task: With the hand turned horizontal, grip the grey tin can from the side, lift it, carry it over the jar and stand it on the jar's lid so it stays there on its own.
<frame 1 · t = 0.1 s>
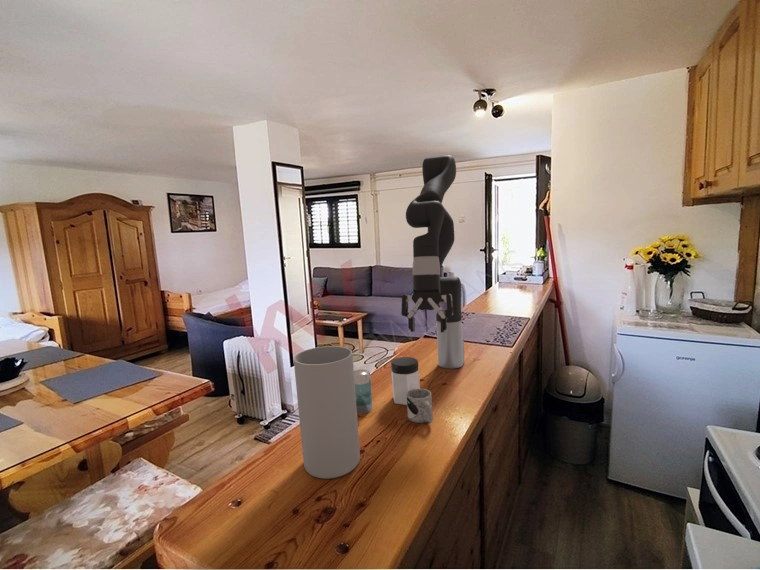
hand: (427, 331, 103), 22 cm above the kitchen counter, tool pointing down, fingers open, 8 cm apart
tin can: (363, 409, 108), on the kitchen counter
jar: (406, 399, 113), on the kitchen counter
cylinder vase: (332, 463, 83), on the kitchen counter
mug: (422, 420, 100), on the kitchen counter
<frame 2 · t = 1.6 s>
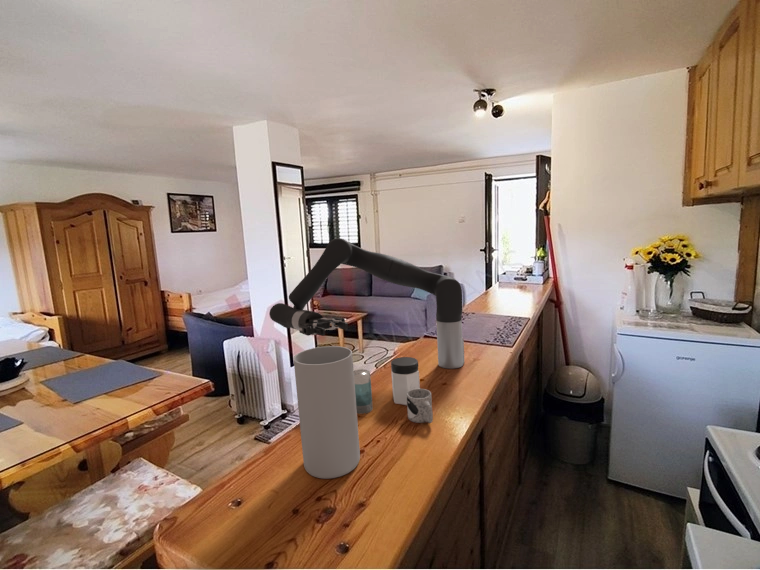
hand: (335, 329, 113), 22 cm above the kitchen counter, tool horizontal, fingers open, 8 cm apart
nothing on the kitchen counter moved.
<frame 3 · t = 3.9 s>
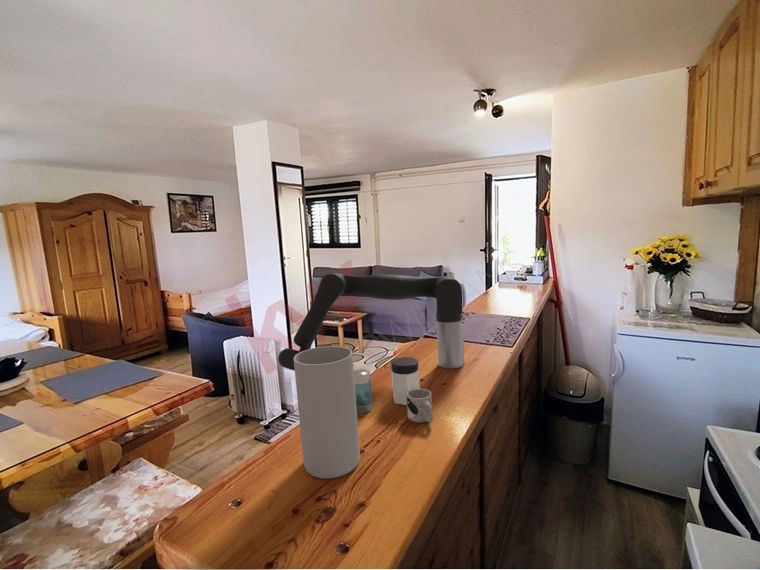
hand: (344, 380, 113), 6 cm above the kitchen counter, tool horizontal, fingers open, 8 cm apart
nothing on the kitchen counter moved.
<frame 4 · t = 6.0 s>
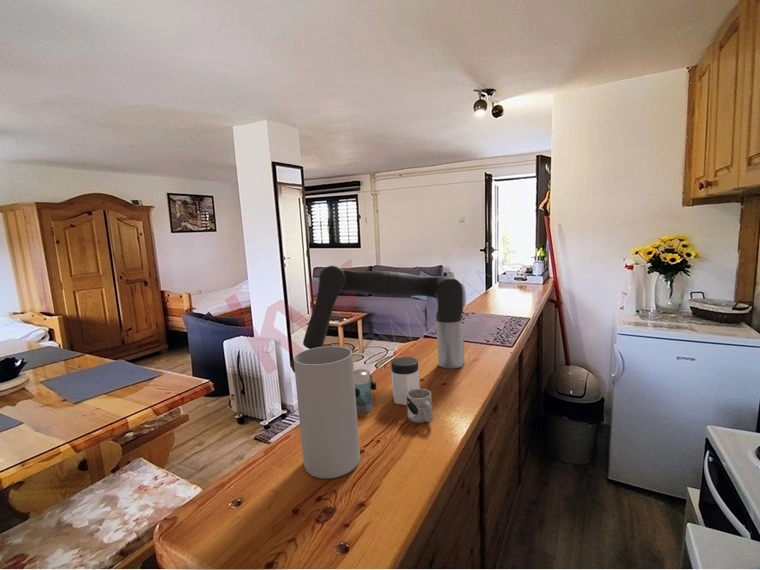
hand: (366, 390, 105), 7 cm above the kitchen counter, tool horizontal, fingers closed on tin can, 5 cm apart
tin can: (363, 409, 108), on the kitchen counter, touching gripper
everything else where it was.
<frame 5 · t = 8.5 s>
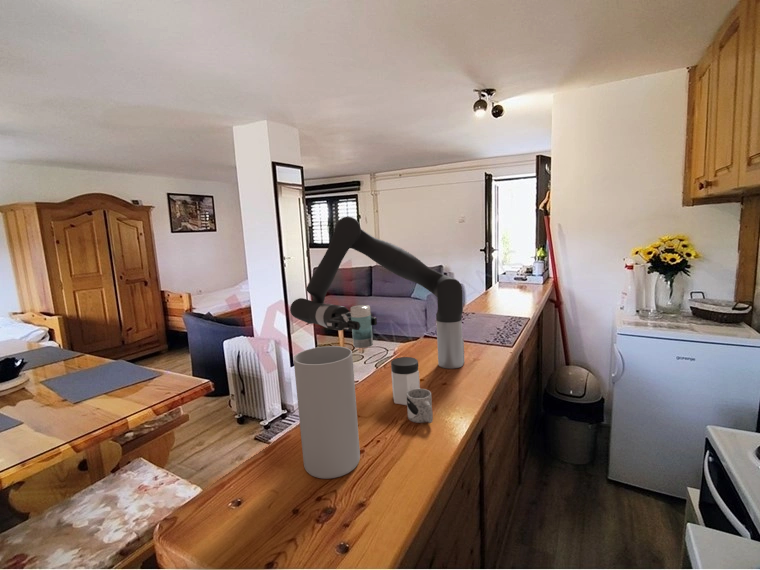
hand: (367, 323, 103), 26 cm above the kitchen counter, tool horizontal, fingers closed on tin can, 5 cm apart
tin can: (363, 344, 106), point 19 cm above the kitchen counter, touching gripper
everything else where it was.
when the fingers open (20 cm above the kitchen counter, at t = 11.2 s): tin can drops 2 cm, resting on jar.
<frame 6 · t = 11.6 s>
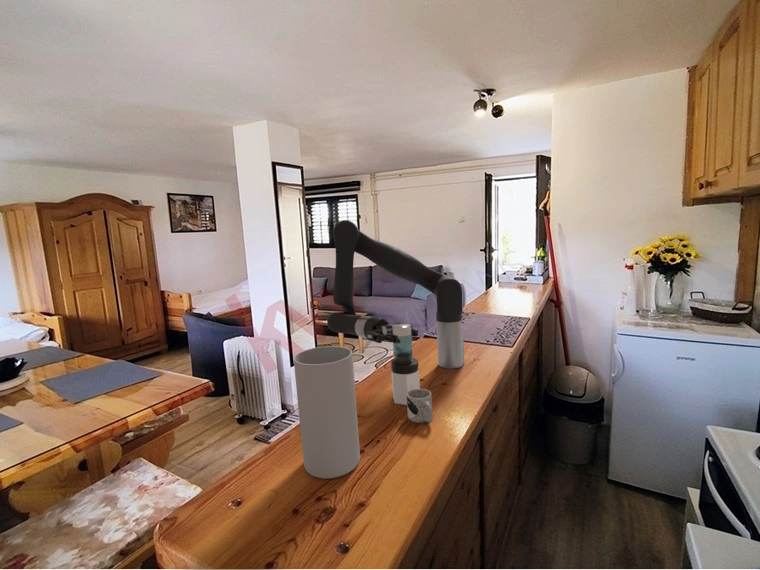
hand: (407, 336, 109), 20 cm above the kitchen counter, tool horizontal, fingers open, 8 cm apart
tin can: (403, 361, 111), point 12 cm above the kitchen counter, touching jar
jar: (406, 399, 113), on the kitchen counter, touching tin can
everything else where it was.
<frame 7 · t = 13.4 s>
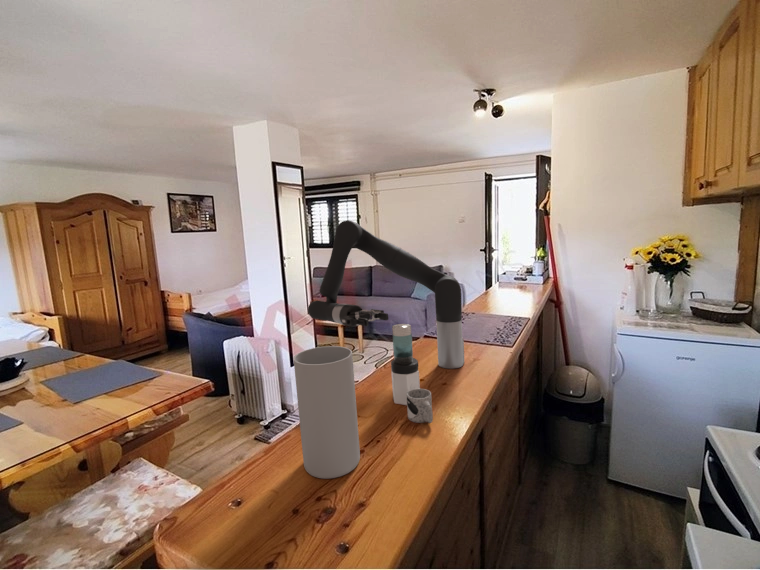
hand: (377, 319, 119), 23 cm above the kitchen counter, tool horizontal, fingers open, 8 cm apart
nothing on the kitchen counter moved.
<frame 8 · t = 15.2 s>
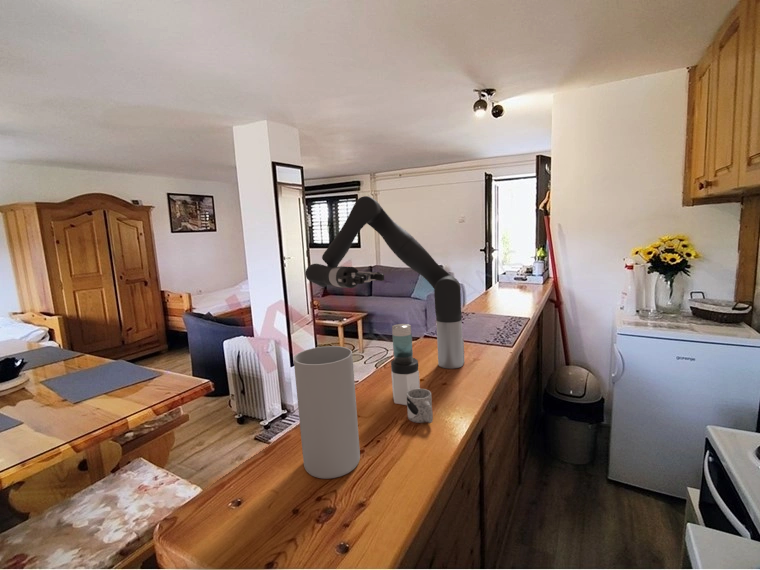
hand: (373, 278, 120), 36 cm above the kitchen counter, tool horizontal, fingers open, 8 cm apart
nothing on the kitchen counter moved.
at the end: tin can inside the target area on the jar (0.2 cm from its centre), point 12.0 cm above the jar's base; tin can tilted 0°; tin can touching jar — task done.
